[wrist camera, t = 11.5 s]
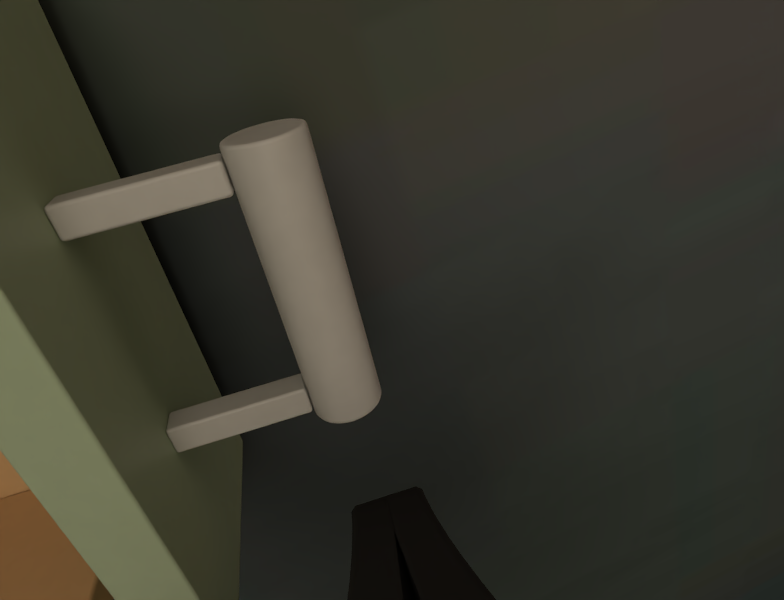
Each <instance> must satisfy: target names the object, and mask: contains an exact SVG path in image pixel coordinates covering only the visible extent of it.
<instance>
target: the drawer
mask: <svg viewBox="0 0 784 600" xmlns="http://www.w3.org/2000/svg"><path fill="white" fill-rule="evenodd" d="M219 148H220V151H221V153H217V154H214V155H210V156H206V157H202V158H198V159H195V160H191V161H187V162H183V163H179V164H176V165H172V166H168V167H164V168H160V169H156V170H153V171H149V172H145V173H141V174H137V175H134V176H130V177H126V178H122V179H121V178H120V176H119V174H118V172H117V169H116V167H115V165H114V163H113V161H112V159H111V157H110V154H109V152H108V150H107V148H106V146H105V144H104V141H103V139H102V137H101V135H100V133H99V131H98V129H97V126H96V124H95V122H94V120H93V118H92V116H91V113H90V111H89V109H88V107H87V105H86V103H85V101H84V98H83V96H82V94H81V92H80V90H79V88H78V85H77V83H76V81H75V79H74V77H73V75H72V73H71V70H70V68H69V66H68V64H67V62H66V60H65V57H64V55H63V53H62V51H61V49H60V47H59V45H58V42H57V40H56V38H55V36H54V34H53V32H52V29H51V27H50V25H49V23H48V21H47V19H46V17H45V14H44V12H43V10H42V8H41V6H40V4H39V1H38V0H0V600H113V598H114V599H115V600H239V570H240V532H241V493H242V455H243V441H242V439H241V437H240V434H241V433H244V432H248V431H251V430H254V429H257V428H261V427H264V426H267V425H270V424H274V423H277V422H280V421H283V420H287V419H290V418H293V417H297V416H300V415H303V414H306V413H310V412H311V411H312V405H313V407H314V410H315V412H316V414H317V415H318V416H319V417H320V418H321V419H323V420H324V421H327V422H330V423H347V422H352V421H355V420H358V419H360V418H362V417H364V416H366V415H367V414H368V413H370V412H371V411H372V410H373V409H374V408H375V407H376V406H377V404H378V402H379V400H380V397H381V387H380V383H379V380H378V376H377V372H376V369H375V365H374V362H373V358H372V354H371V351H370V347H369V344H368V340H367V336H366V333H365V329H364V326H363V322H362V318H361V315H360V311H359V308H358V304H357V300H356V297H355V293H354V290H353V286H352V282H351V279H350V275H349V272H348V268H347V264H346V261H345V257H344V254H343V250H342V246H341V243H340V239H339V236H338V232H337V228H336V225H335V221H334V218H333V214H332V210H331V207H330V203H329V200H328V196H327V192H326V189H325V185H324V182H323V178H322V175H321V171H320V167H319V164H318V160H317V157H316V153H315V149H314V146H313V142H312V139H311V135H310V131H309V128H308V124H307V123H306V122H305V120H303V119H295V118H292V119H281V120H275V121H270V122H266V123H262V124H258V125H255V126H251V127H248V128H245V129H243V130H240V131H238V132H235V133H233V134H231V135H229V136H228V137H226V138H225V139H223V140H222V141H221V142H220V146H219ZM234 190H235V192H236V195H237V198H238V201H239V203H240V206H241V209H242V212H243V214H244V217H245V220H246V223H247V225H248V228H249V231H250V234H251V236H252V239H253V242H254V245H255V248H256V250H257V253H258V256H259V259H260V261H261V264H262V267H263V270H264V272H265V275H266V278H267V281H268V283H269V286H270V289H271V292H272V294H273V297H274V300H275V303H276V305H277V308H278V311H279V314H280V316H281V319H282V322H283V325H284V327H285V330H286V333H287V336H288V338H289V341H290V344H291V347H292V349H293V352H294V355H295V358H296V360H297V363H298V366H299V369H300V371H301V373H300V374H296V375H293V376H290V377H286V378H283V379H280V380H276V381H273V382H270V383H266V384H263V385H260V386H256V387H253V388H250V389H246V390H243V391H240V392H236V393H233V394H230V395H227V396H223V397H222V396H221V393H220V391H219V389H218V387H217V385H216V383H215V381H214V378H213V376H212V374H211V372H210V370H209V368H208V365H207V363H206V361H205V359H204V357H203V355H202V353H201V350H200V348H199V346H198V344H197V342H196V340H195V337H194V335H193V333H192V331H191V329H190V327H189V325H188V322H187V320H186V318H185V316H184V314H183V312H182V309H181V307H180V305H179V303H178V301H177V299H176V297H175V294H174V292H173V290H172V288H171V286H170V284H169V281H168V279H167V277H166V275H165V273H164V271H163V269H162V266H161V264H160V262H159V260H158V258H157V256H156V253H155V251H154V249H153V247H152V245H151V243H150V241H149V238H148V236H147V234H146V232H145V230H144V228H143V225H142V223H141V221H144V220H147V219H151V218H155V217H158V216H162V215H166V214H170V213H173V212H177V211H181V210H184V209H188V208H192V207H195V206H199V205H203V204H207V203H210V202H214V201H218V200H221V199H225V198H229V197H231V196H232V195H233V193H234Z"/></svg>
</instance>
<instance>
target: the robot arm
mask: <svg viewBox="0 0 784 600" xmlns="http://www.w3.org/2000/svg"><path fill="white" fill-rule="evenodd" d="M347 600H496V599H495V598H494V597H493V595H492V594H491V593H490V592H489V590H488V589H487V588H486V587H485V585H484V584H483V583H482V582H481V580H480V579H479V578H478V576H477V575H476V574H475V573H474V571H473V570H472V569H471V567H470V566H469V565H468V563H467V562H466V561H465V559H464V558H463V557H462V555H461V554H460V553H459V551H458V550H457V548H456V547H455V545H454V544H453V543H452V541H451V540H450V538H449V537H448V535H447V534H446V532H445V530H444V529H443V527H442V526H441V524H440V523H439V521H438V519H437V518H436V516H435V514H434V512H433V511H432V509H431V507H430V505H429V503H428V501H427V499H426V497H425V495H424V493H423V490H422V489H420V488H418V487H413V488H410V489H407V490H404V491H401V492H397V493H394V494H391V495H388V496H385V497H382V498H379V499H376V500H373V501H370V502H366V503H363V504H360V505H357V506H355V508H354V509H353V511H352V559H351V572H350V583H349V591H348V599H347Z"/></svg>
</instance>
